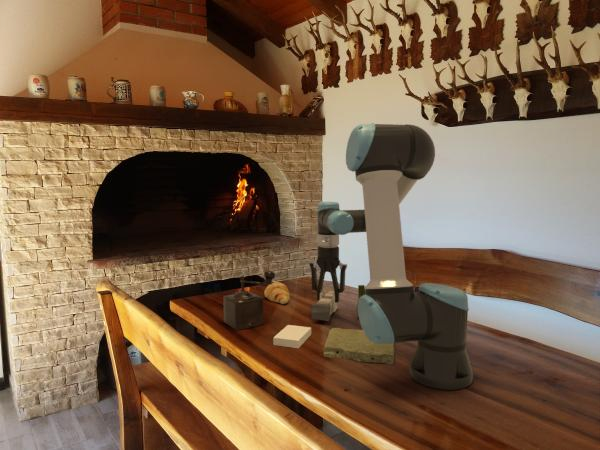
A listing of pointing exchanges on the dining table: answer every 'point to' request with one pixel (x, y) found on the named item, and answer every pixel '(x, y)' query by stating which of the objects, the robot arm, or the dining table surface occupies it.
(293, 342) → the cream flat block
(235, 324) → the dark brown crank device
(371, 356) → the decorative tile
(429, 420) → the dining table surface
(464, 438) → the dining table surface
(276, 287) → the croissant
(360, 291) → the fennel bulb
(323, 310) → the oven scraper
